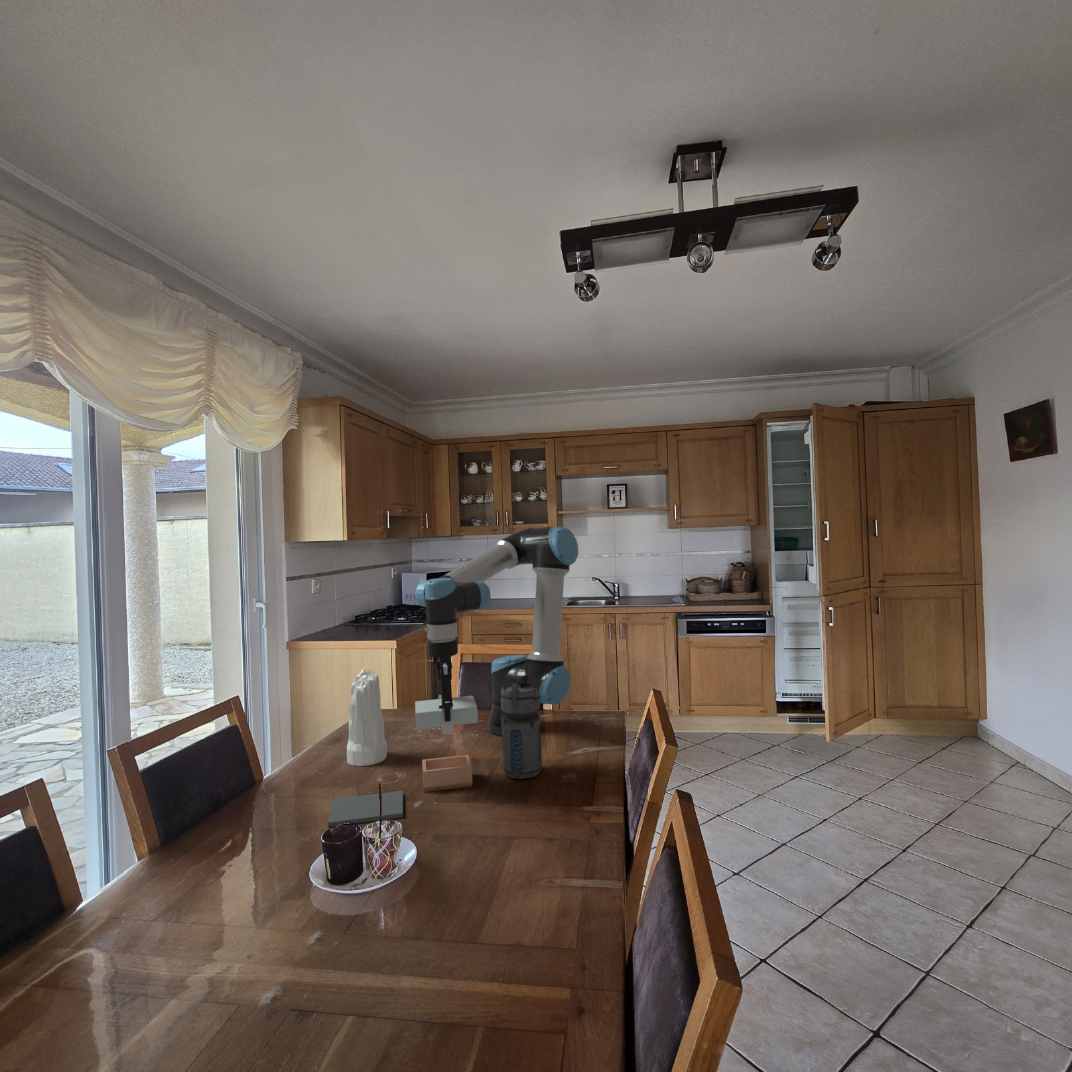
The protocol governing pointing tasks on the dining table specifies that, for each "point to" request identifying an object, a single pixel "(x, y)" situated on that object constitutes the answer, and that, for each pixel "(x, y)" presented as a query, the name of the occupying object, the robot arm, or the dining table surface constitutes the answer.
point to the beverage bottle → (521, 730)
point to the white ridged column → (366, 722)
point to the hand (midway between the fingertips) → (446, 726)
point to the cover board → (432, 717)
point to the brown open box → (447, 773)
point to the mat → (366, 808)
